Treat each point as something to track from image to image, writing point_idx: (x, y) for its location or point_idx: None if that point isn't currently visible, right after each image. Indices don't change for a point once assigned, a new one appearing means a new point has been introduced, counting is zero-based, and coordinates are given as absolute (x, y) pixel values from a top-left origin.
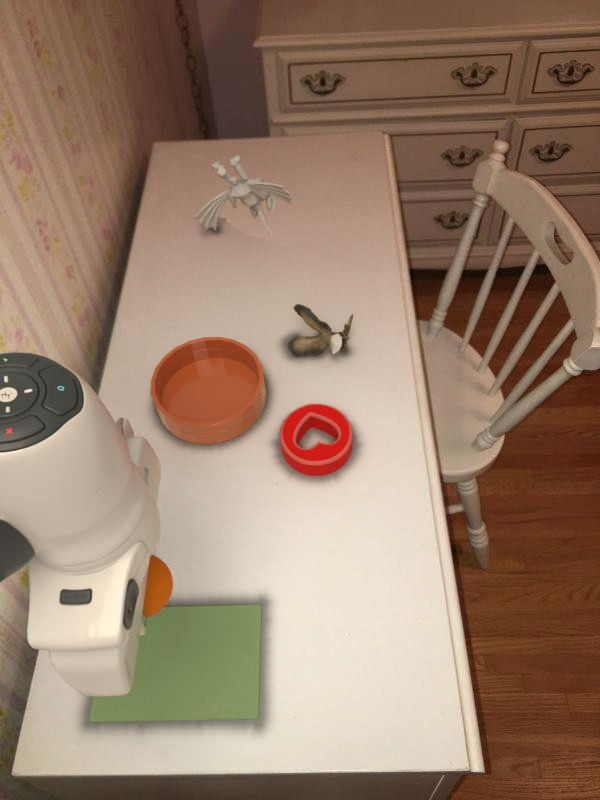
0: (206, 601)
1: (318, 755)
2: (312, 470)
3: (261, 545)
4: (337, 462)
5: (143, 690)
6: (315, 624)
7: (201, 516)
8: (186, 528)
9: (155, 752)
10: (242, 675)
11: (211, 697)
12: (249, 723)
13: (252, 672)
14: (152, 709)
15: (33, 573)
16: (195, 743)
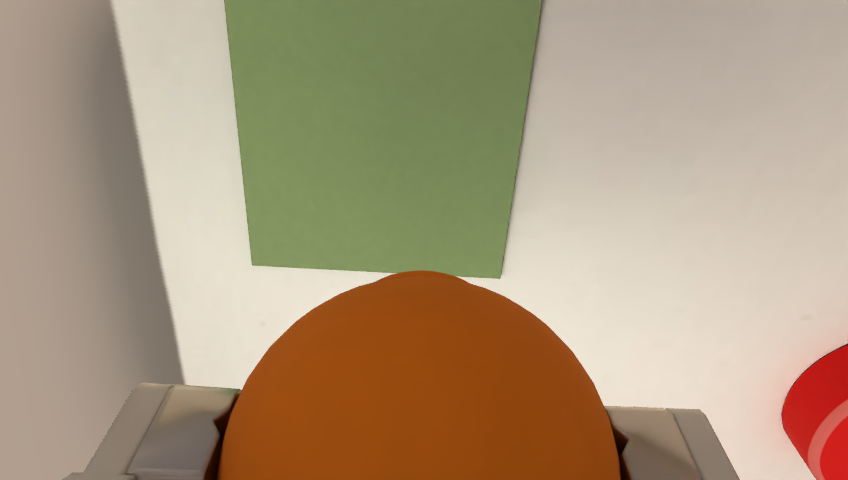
0: (532, 152)
1: (198, 355)
2: (805, 406)
3: (650, 279)
4: (802, 456)
5: None
6: None
7: (792, 134)
8: (769, 91)
9: (155, 32)
10: (340, 237)
11: (290, 171)
12: (243, 244)
13: (346, 257)
14: (253, 21)
15: None
16: (189, 132)
